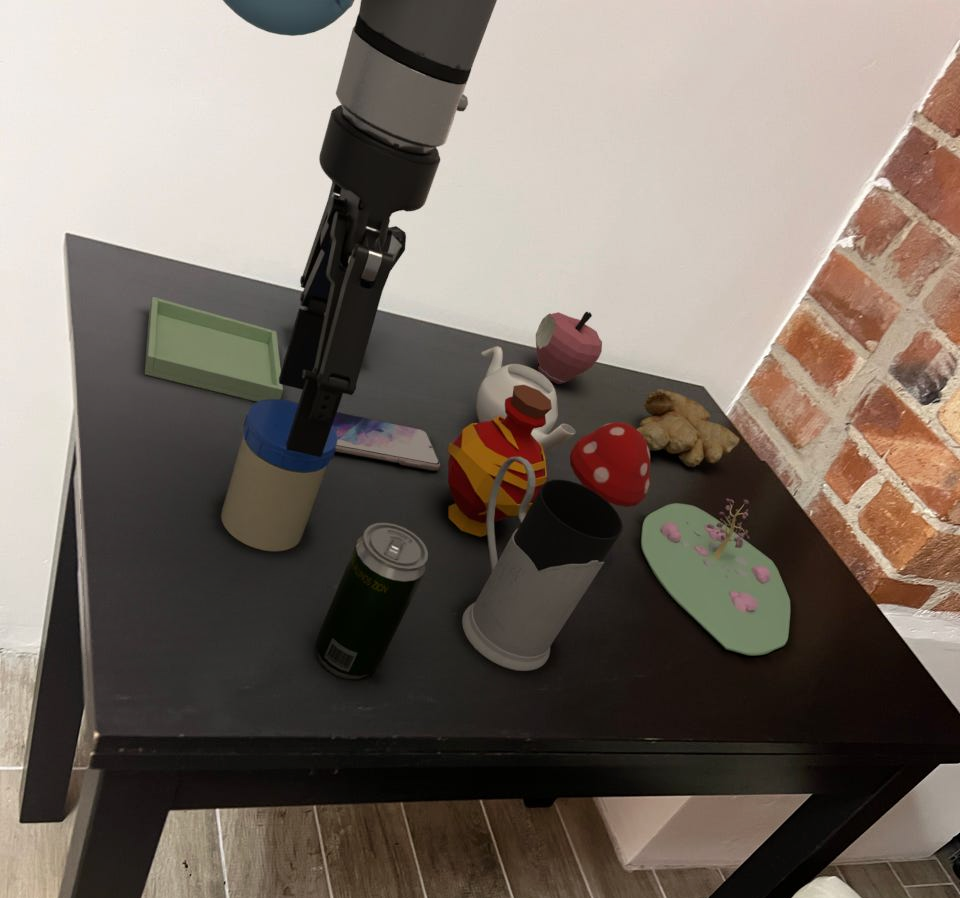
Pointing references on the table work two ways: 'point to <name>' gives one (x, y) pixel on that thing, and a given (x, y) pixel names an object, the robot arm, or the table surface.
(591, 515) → the glass holder
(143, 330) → the table surface
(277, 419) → the lid
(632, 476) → the decorative mushroom
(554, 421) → the teapot
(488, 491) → the potion bottle
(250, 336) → the tray
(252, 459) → the jar
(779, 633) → the plant
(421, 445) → the smartphone
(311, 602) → the table surface
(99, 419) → the table surface
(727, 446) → the ginger root
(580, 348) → the apple
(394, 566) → the beer can
